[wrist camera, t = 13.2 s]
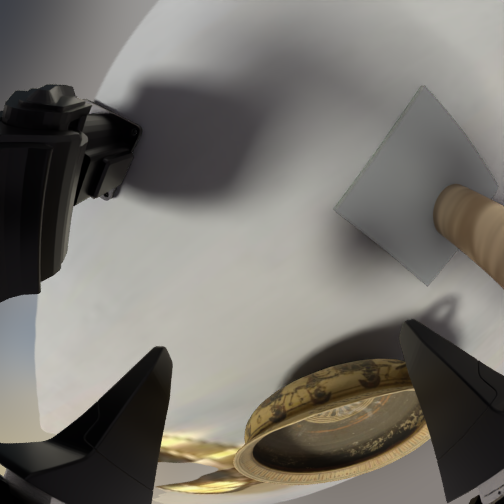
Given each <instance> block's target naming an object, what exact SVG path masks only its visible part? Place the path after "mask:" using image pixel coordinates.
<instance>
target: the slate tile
mask: <svg viewBox="0 0 504 504" xmlns="http://www.w3.org/2000/svg"><path fill="white" fill-rule="evenodd" d="M452 184H460V185H462V186H464V187H467V188H469V189H471V190H473V191H475V192H477V193H479V194H481V195H483V196H485V197H487V198H489V199H492V198H493V196H494V194H495V193H496V191H497V189H498V185H497V183H496V181H495V179H494V178H493V176H492V174H491V173H490V171H489V169H488V168H487V166H486V164H485V163H484V161H483V160H482V158H481V157H480V155H479V153H478V152H477V150H476V149H475V148H474V146H473V145H472V143H471V142H470V140H469V139H468V137H467V136H466V135H465V133H464V132H463V131H462V129H461V128H460V127H459V125H458V124H457V123H456V121H455V120H454V119H453V118H452V116H451V115H450V114H449V113H448V111H447V110H446V109H445V108H444V107H443V105H442V104H441V103H440V102H439V101H438V100H437V99H436V97H435V96H434V95H433V94H432V93H431V92H430V91H429V90H428V89H427V88H426V86H421V87H420V88H419V90H418V91H417V93H416V94H415V96H414V97H413V99H412V100H411V102H410V103H409V105H408V106H407V108H406V109H405V111H404V112H403V114H402V115H401V117H400V118H399V119H398V121H397V122H396V124H395V125H394V127H393V128H392V130H391V131H390V132H389V134H388V135H387V137H386V138H385V140H384V141H383V142H382V144H381V145H380V147H379V148H378V149H377V151H376V152H375V154H374V155H373V156H372V158H371V159H370V161H369V162H368V163H367V165H366V166H365V167H364V169H363V170H362V172H361V173H360V174H359V176H358V177H357V178H356V180H355V181H354V182H353V184H352V185H351V186H350V188H349V189H348V190H347V192H346V193H345V194H344V196H343V197H342V198H341V200H340V201H339V202H338V204H337V205H336V206H335V208H334V209H333V210H334V211H335V212H336V213H338V214H339V215H340V216H342V217H343V218H344V219H346V220H347V221H348V222H350V223H351V224H352V225H354V226H355V227H356V228H357V229H359V230H360V231H361V232H363V233H364V234H365V235H366V236H368V237H369V238H370V239H372V240H373V241H374V242H375V243H377V244H378V245H379V246H380V247H382V248H383V249H384V250H385V251H386V252H388V253H389V254H390V255H391V256H392V257H394V258H395V259H396V260H397V261H398V262H400V263H401V264H402V265H403V266H404V267H406V268H407V269H408V270H409V271H410V272H411V273H412V274H414V275H415V276H416V277H417V278H418V279H419V280H420V281H422V282H423V283H424V284H425V285H426V286H427V287H428V286H429V284H430V283H431V282H432V281H433V280H434V279H435V277H436V276H437V275H438V274H439V273H440V271H441V270H442V269H443V268H444V266H445V265H446V264H447V263H448V261H449V260H450V259H451V257H452V256H453V255H454V254H455V252H456V251H457V250H458V248H457V247H456V246H455V245H454V244H452V243H451V242H450V241H449V240H447V239H446V238H445V237H444V236H442V235H441V234H440V233H439V232H438V231H437V230H436V228H435V225H434V221H433V210H434V206H435V202H436V200H437V198H438V196H439V195H440V193H441V192H442V191H443V190H444V189H445V188H446V187H447V186H449V185H452Z"/></svg>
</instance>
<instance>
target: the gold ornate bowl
mask: <svg viewBox="0 0 504 504" xmlns="http://www.w3.org/2000/svg"><path fill="white" fill-rule="evenodd" d="M430 438H431V437H430V434H429V431H428V428H427V425H426V422H425V419H424V416H423V413H422V410H421V407H420V404H419V401H418V398H417V395H416V393H415V390H414V387H413V385H412V382H411V379H410V377H409V374H408V370H407V367H406V363H405V361H401V360H396V359H368V360H361V361H354V362H349V363H345V364H340V365H336V366H332V367H329V368H326V369H323V370H320V371H317V372H315V373H312V374H310V375H307V376H305V377H302V378H300V379H298V380H296V381H294V382H292V383H290V384H288V385H287V386H285V387H283V388H282V389H280V390H278V391H276V392H275V393H274V394H272V395H271V396H270V397H269V398H267V399H266V400H265V401H264V402H263V403H262V404H260V405H259V407H258V408H257V409H256V410H255V411H254V412H253V414H252V415H251V417H250V419H249V420H248V423H247V425H246V429H245V445H244V446H243V447H242V448H240V449H239V450H238V451H237V453H236V455H235V457H234V461H233V464H234V466H235V468H236V469H237V470H238V471H239V472H240V473H241V474H242V475H244V476H247V477H249V478H251V479H254V480H258V481H261V482H266V483H274V484H282V485H309V484H318V483H325V482H332V481H337V480H342V479H347V478H351V477H355V476H358V475H361V474H364V473H367V472H370V471H373V470H376V469H378V468H381V467H383V466H385V465H388V464H390V463H392V462H394V461H396V460H398V459H400V458H402V457H403V456H405V455H407V454H409V453H410V452H412V451H413V450H415V449H416V448H418V447H419V446H421V445H422V444H423V443H425V442H426V441H427V440H428V439H430Z"/></svg>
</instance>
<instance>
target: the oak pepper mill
mask: <svg viewBox="0 0 504 504" xmlns="http://www.w3.org/2000/svg"><path fill="white" fill-rule="evenodd" d="M433 221H434V225H435V228H436V230H437V231H438V232H439V233H440V234H441V235H442V236H444V237H445V238H446V239H447V240H449V241H450V242H451V243H452V244H454V245H455V246H456V247H457V248H459V249H460V250H461V251H462V252H463V253H465V254H466V255H467V256H468V257H469V258H470V259H472V260H473V261H474V262H475V263H476V264H477V265H479V266H480V267H481V268H482V269H483V270H484V271H485V272H486V273H487V274H489V275H490V276H491V277H492V278H493V279H494V280H495V281H496V282H497V283H498V284H499V285H500V286H501V287H502V288H503V289H504V206H503V205H501V204H499V203H497V202H495V201H493V200H491V199H489V198H487V197H485V196H483V195H481V194H479V193H477V192H475V191H473V190H471V189H469V188H467V187H464V186H462V185H460V184H452V185H449V186H447V187H446V188H445V189H444V190H443V191H442V192H441V193H440V195H439V196H438V198H437V200H436V202H435V206H434V210H433Z"/></svg>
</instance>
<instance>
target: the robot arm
mask: <svg viewBox="0 0 504 504" xmlns="http://www.w3.org/2000/svg"><path fill="white" fill-rule="evenodd" d="M134 129H136V130H137V134H136V135H134V134H133V130H134ZM141 134H142V129H141V127H140V126H139V125H137V124H135V123H133V122H131V121H129V120H127V119H125V118H123V117H121V116H119V115H118V114H116V113H114V112H112V111H110V110H108V109H106V108H104V107H102V106H100V105H98V104H96V103H94V102H91V101H89V100H87V99H79V98H77V96H75V93H74V89H73V87H72V86H68V85H57V84H47V85H44V86H42V87H40V88H38V89H37V88H31V89H29V90H28V91H20V90H17V91H15V92H14V93H13V94H12V95H11V96H10V97H9V99H8V100H7V101H6V102H5V105H4V110H3V111H0V302H2V301H4V300H6V299H9V298H12V297H15V296H19V295H24V294H25V295H28V294H39V293H40V292H41V282H42V281H44V280H46V279H47V278H49V277H51V276H53V275H55V274H56V273H57V272H58V271H59V270H60V269H61V263H62V262H63V260H64V258H65V256H66V254H67V249H68V240H69V232H70V224H71V217H72V211H73V206H75V205H77V204H79V203H80V202H82V201H84V200H86V199H87V198H89V197H91V198H93V199H95V198H98V197H100V198H102V199H104V200H109V199H111V198H112V197H113V195H114V193H115V190H116V188H117V186H119V185H121V184H122V182H123V179H124V177H125V175H126V173H127V170H128V168H129V166H130V164H131V162H132V160H133V158H134V155H133V153H132V152H133V150H134V148H135V146H136V144H137V142H138V140H139V138H140V136H141ZM106 192H108V193H109V196H107V195H106ZM399 341H400V345H401V349H402V352H403V356H404V359H405V363H406V367H407V370H408V374H409V377H410V379H411V382H412V385H413V387H414V390H415V393H416V395H417V398H418V401H419V404H420V407H421V410H422V413H423V416H424V419H425V422H426V425H427V428H428V431H429V434H430V437H431V441H432V444H433V447H434V451H435V455H436V458H437V460H438V461H437V463H438V466H439V470H440V474H441V478H442V482H443V487H444V492H445V496H446V501H447V503H449V502H451V501H453V500H455V499H457V498H459V497H460V496H462V495H464V494H466V493H468V492H469V491H471V490H473V489H474V488H476V487H477V488H478V491H479V495H477V496H476V497H475V498H473V499H471V500H470V503H469V504H504V376H503V375H501V374H500V373H498V372H496V371H494V370H493V369H491V368H489V367H488V366H486V365H485V364H483V363H482V362H480V361H478V360H477V359H476V358H474V357H472V356H471V355H469V354H468V353H466V352H465V351H463V350H462V349H460V348H459V347H457V346H456V345H454V344H452V343H451V342H449V341H448V340H446V339H445V338H443V337H441V336H440V335H438V334H437V333H435V332H434V331H432V330H430V329H429V328H427V327H426V326H424V325H422V324H421V323H419V322H418V321H416V320H414V319H411V320H406V321H404V322H403V325H402V329H401V333H400V337H399ZM172 368H173V364H172V360H171V358H170V355H169V353H168V351H167V349H166V348H165V347H164V346H156V347H154V348H153V349H152V350H151V351H149V352H148V353H147V354H146V355H145V356H144V357H143V358H142V359H141V360H140V361H139V362H138V363H137V364H136V365H135V366H134V367H133V368H132V369H131V370H129V371H128V372H127V373H126V374H125V375H124V376H123V377H122V378H121V379H120V380H119V381H118V382H117V383H116V384H115V385H114V386H113V387H112V388H111V389H110V390H108V391H107V392H106V393H105V394H104V395H103V396H102V397H101V398H100V399H99V400H98V402H96V403H95V404H94V405H93V406H92V407H90V408H89V409H88V410H87V411H86V412H85V413H84V414H83V415H81V416H80V417H79V418H78V419H77V420H75V421H74V422H73V423H71V424H70V425H69V426H68V427H66V428H65V429H64V430H62V431H61V432H60V433H58V434H57V435H56V436H54V437H53V438H51V439H49V440H46V441H42V442H30V443H0V464H1V465H2V466H4V467H5V468H6V472H5V475H4V477H3V476H2V475H0V504H151V503H152V496H153V491H152V490H153V489H154V482H155V476H156V469H157V464H158V458H159V452H160V447H161V441H162V436H163V430H164V425H165V420H166V415H167V410H168V405H169V400H170V389H171V378H172Z"/></svg>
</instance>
